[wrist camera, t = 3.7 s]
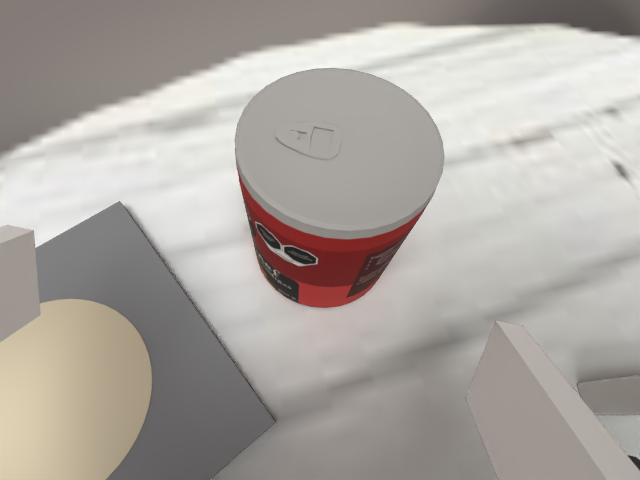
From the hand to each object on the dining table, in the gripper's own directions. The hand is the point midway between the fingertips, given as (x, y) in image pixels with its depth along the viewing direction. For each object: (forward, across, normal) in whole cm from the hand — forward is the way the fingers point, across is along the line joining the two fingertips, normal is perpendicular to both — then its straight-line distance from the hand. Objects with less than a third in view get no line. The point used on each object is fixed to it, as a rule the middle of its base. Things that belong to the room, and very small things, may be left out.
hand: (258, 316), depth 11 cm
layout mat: (+6, -10, -11) cm, 16 cm away
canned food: (+13, +1, -3) cm, 14 cm away
